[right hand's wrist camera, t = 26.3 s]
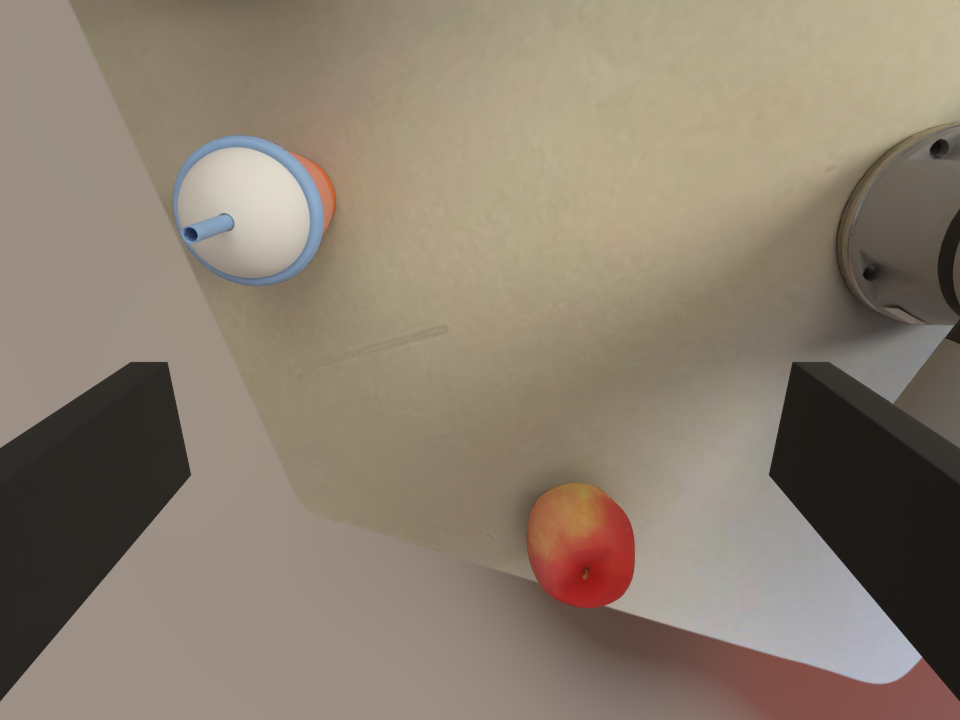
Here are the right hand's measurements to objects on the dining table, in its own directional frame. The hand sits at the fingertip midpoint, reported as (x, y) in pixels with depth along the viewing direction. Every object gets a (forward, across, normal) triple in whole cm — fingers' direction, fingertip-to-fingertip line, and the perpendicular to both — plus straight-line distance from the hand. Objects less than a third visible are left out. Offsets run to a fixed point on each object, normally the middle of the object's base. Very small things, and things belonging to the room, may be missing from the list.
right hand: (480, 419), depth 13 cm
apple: (+36, +9, -28) cm, 46 cm away
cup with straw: (+36, -14, +1) cm, 39 cm away
